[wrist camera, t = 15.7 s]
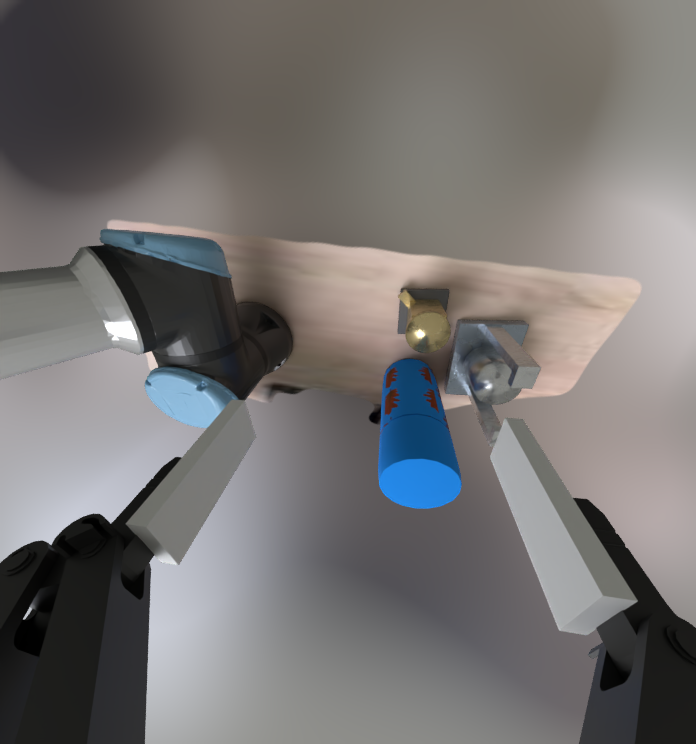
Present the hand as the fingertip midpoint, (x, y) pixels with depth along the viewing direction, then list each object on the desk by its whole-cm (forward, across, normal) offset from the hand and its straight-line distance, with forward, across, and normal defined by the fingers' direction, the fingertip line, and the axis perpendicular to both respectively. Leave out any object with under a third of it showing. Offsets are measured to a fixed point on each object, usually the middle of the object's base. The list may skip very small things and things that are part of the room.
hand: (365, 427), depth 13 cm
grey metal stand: (+37, +19, -15) cm, 44 cm away
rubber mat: (+37, +7, -6) cm, 38 cm away
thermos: (+37, +6, -21) cm, 43 cm away
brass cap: (+36, +7, -6) cm, 37 cm away
